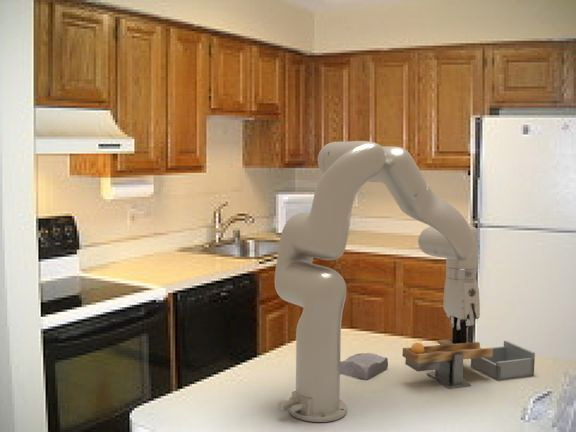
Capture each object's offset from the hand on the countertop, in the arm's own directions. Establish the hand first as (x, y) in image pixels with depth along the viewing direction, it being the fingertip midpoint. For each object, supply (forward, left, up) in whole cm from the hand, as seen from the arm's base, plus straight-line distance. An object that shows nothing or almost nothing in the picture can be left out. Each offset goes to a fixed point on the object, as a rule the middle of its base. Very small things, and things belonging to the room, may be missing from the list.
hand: (459, 343), depth 163 cm
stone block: (-21, +15, -7) cm, 27 cm away
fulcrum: (-9, -4, -7) cm, 12 cm away
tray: (+7, -8, -7) cm, 13 cm away
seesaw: (-8, 0, -3) cm, 9 cm away
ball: (-18, -1, +2) cm, 18 cm away
